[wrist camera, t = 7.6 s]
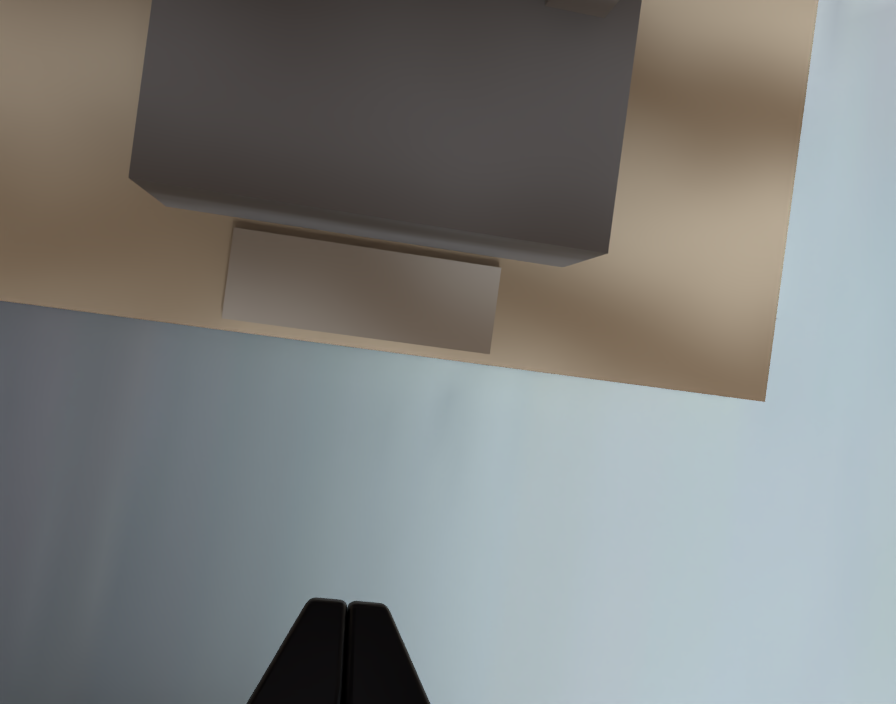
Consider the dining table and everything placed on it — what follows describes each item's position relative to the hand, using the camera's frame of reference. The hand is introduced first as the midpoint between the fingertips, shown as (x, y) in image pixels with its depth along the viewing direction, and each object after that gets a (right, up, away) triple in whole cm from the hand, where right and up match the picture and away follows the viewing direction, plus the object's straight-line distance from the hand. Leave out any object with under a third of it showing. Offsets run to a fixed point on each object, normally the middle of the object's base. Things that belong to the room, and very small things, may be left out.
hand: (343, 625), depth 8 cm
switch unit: (0, +11, +10) cm, 15 cm away
